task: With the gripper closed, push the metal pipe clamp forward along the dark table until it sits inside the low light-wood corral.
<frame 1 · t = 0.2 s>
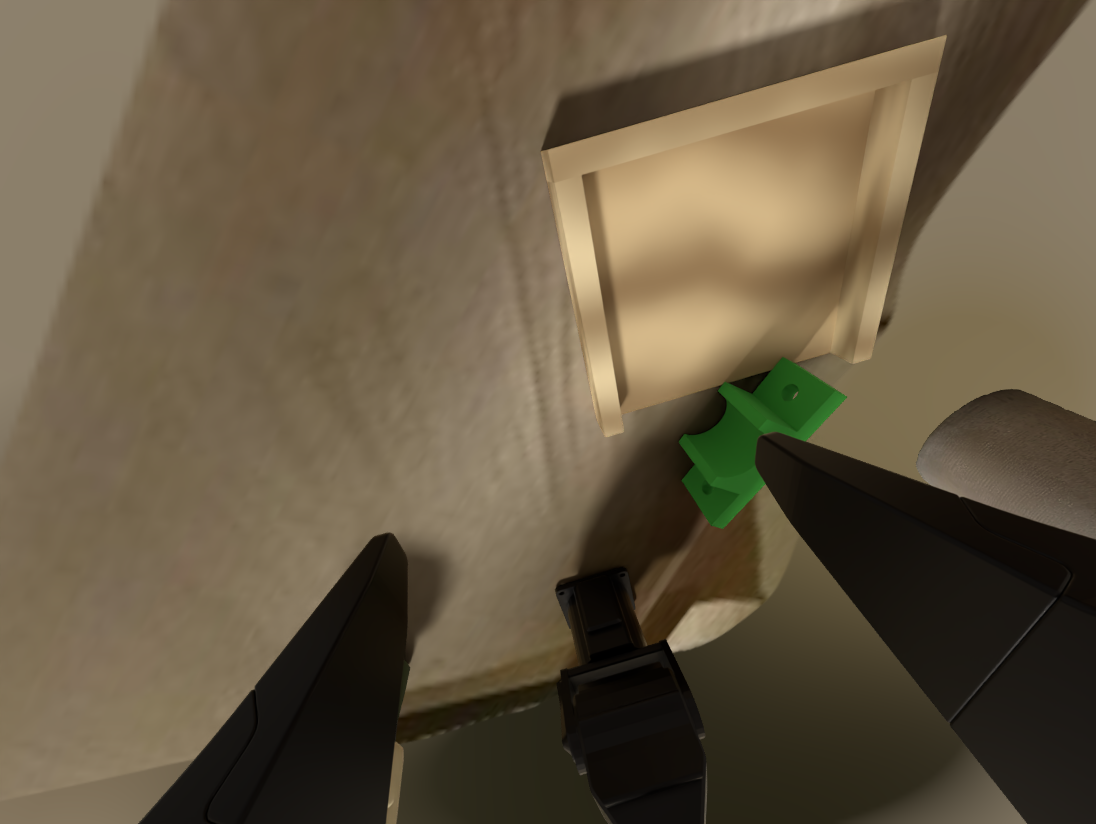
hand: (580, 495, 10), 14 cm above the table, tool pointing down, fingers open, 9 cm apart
pillar candle: (966, 437, 34), on the table
corral: (722, 278, 23), on the table
pipe clamp: (720, 418, 28), on the table, touching corral
character mug: (375, 660, 36), on the table
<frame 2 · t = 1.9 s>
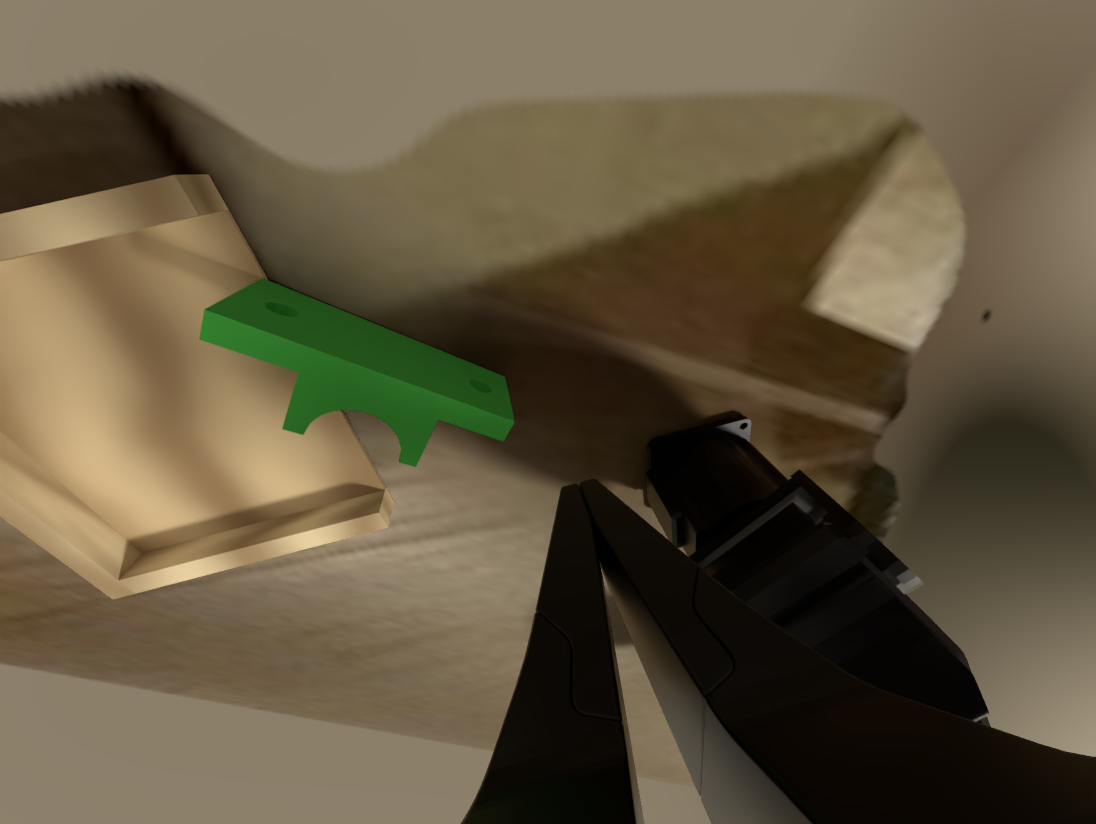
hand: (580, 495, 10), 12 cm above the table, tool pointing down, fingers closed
corral: (178, 413, 19), on the table
pipe clamp: (384, 361, 19), on the table, touching corral
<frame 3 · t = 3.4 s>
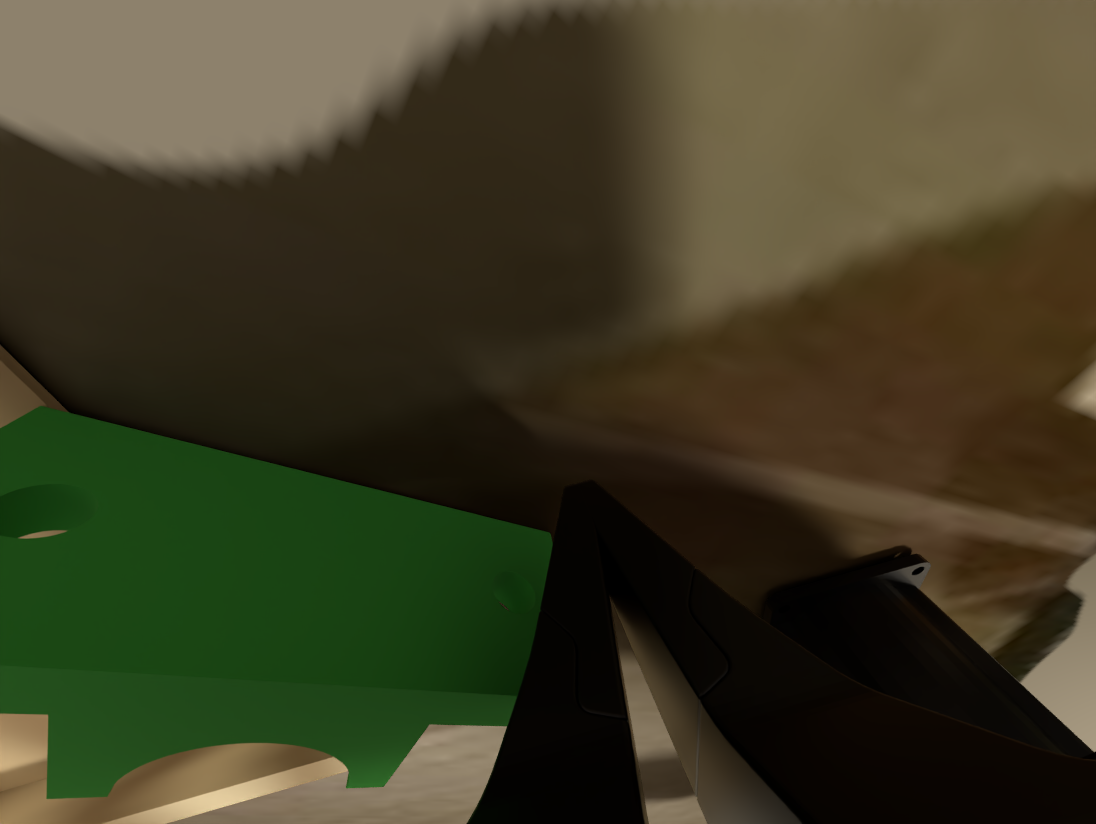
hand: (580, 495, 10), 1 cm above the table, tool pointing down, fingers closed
pipe clamp: (331, 525, 10), on the table, touching gripper
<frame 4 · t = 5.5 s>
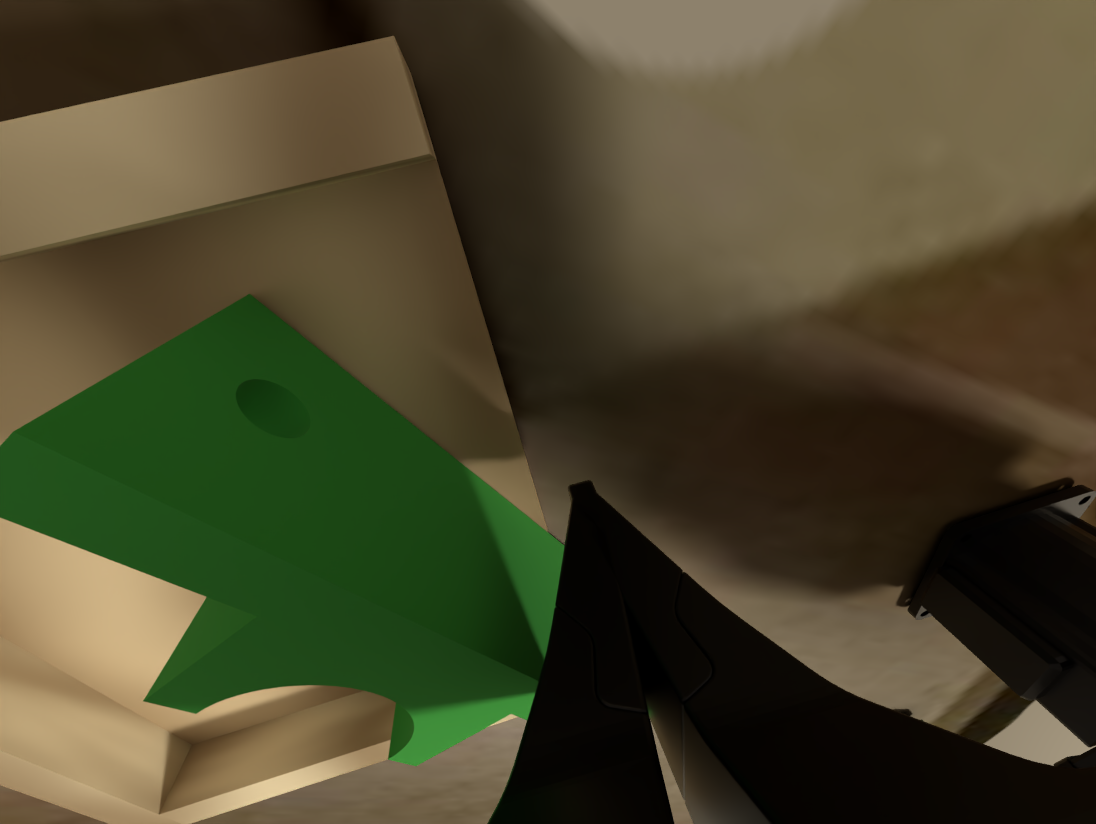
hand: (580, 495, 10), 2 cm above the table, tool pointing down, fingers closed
corral: (275, 544, 11), on the table
pipe clamp: (412, 494, 11), resting on corral, touching gripper
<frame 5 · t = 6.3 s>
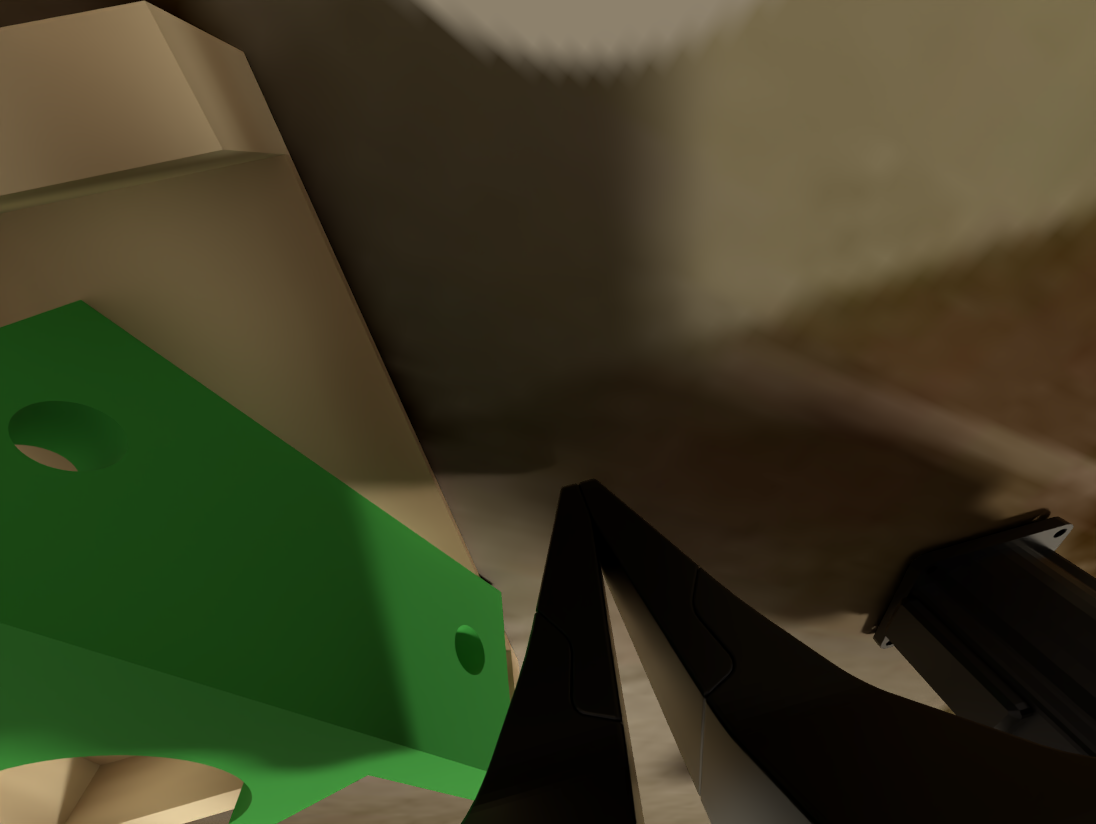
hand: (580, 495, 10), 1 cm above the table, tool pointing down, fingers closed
corral: (162, 569, 10), on the table
pipe clamp: (302, 519, 10), resting on corral
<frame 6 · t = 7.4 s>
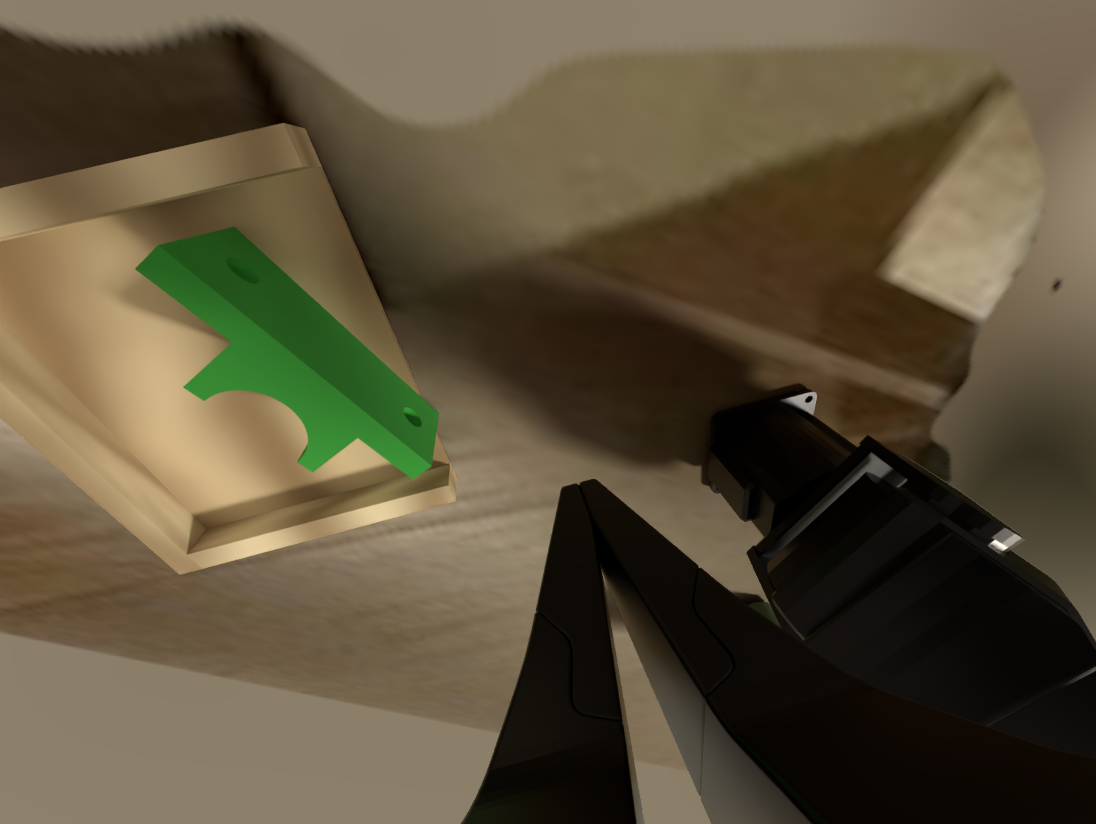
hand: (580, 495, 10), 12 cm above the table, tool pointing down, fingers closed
corral: (253, 381, 19), on the table
pipe clamp: (325, 353, 19), resting on corral
character mug: (735, 613, 38), on the table
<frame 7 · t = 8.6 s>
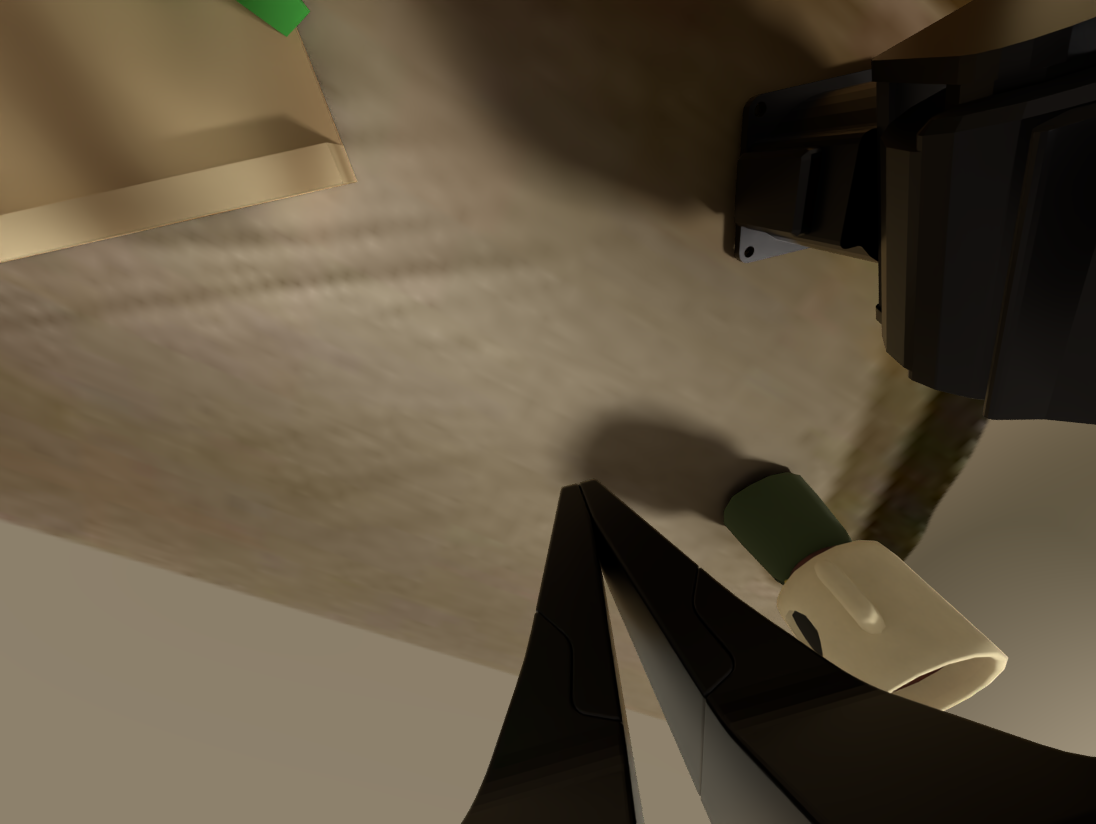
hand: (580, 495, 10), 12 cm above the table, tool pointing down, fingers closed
character mug: (757, 497, 30), on the table
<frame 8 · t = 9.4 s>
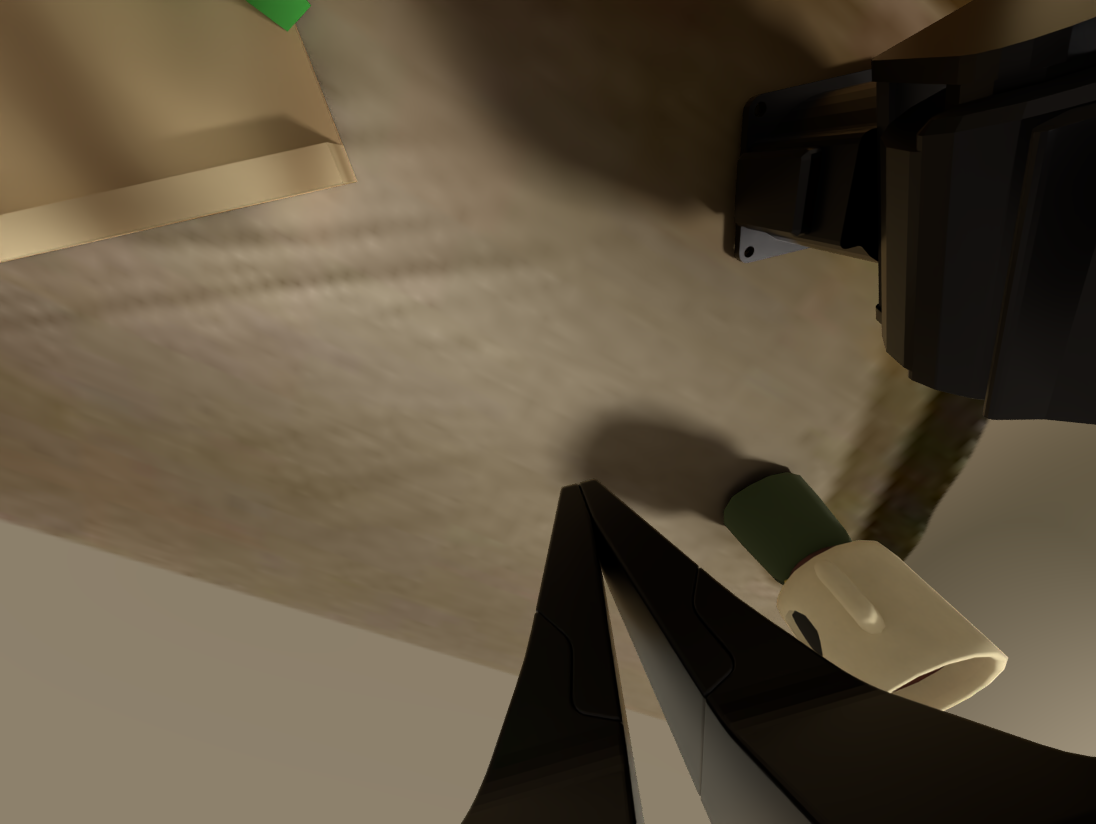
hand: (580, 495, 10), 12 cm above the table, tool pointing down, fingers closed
character mug: (757, 497, 30), on the table
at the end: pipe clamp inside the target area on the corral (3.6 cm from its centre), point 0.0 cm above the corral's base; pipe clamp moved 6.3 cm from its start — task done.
